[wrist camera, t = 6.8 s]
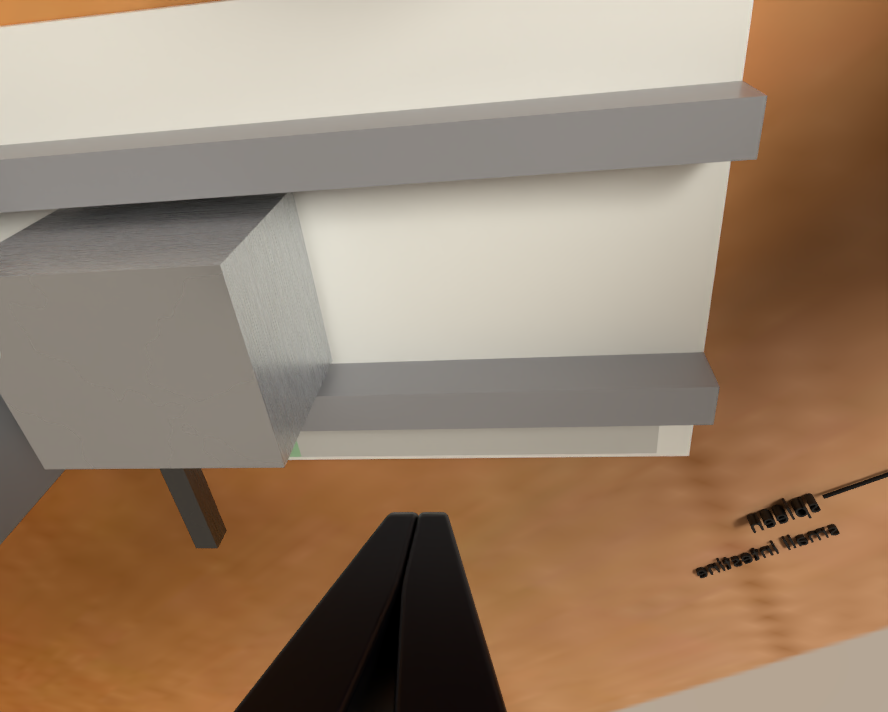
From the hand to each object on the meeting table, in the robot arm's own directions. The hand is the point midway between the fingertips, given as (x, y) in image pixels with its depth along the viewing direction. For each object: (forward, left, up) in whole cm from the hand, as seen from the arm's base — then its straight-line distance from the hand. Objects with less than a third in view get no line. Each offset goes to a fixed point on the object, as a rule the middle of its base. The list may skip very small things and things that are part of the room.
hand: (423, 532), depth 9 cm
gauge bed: (+7, 0, -10) cm, 12 cm away
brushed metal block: (+7, +1, -8) cm, 11 cm away
